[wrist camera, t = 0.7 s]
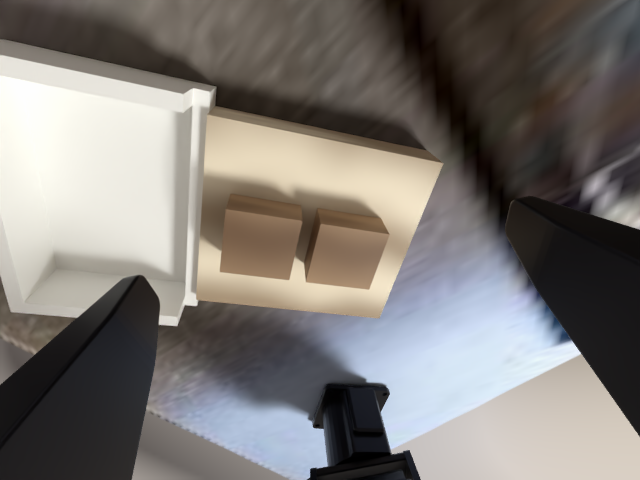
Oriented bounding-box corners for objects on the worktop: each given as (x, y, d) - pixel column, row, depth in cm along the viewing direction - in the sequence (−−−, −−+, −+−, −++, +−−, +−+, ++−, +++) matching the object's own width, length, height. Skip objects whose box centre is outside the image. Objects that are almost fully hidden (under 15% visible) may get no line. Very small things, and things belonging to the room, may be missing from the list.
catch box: (202, 287, 25) (190, 327, 22) (50, 271, 23) (10, 312, 20) (216, 86, 18) (202, 98, 15) (3, 39, 17) (-68, 40, 13)
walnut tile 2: (362, 270, 23) (369, 289, 21) (303, 263, 22) (305, 282, 20) (380, 218, 21) (389, 234, 19) (317, 207, 20) (320, 223, 18)
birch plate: (371, 296, 27) (379, 318, 25) (203, 277, 25) (196, 299, 23) (427, 150, 22) (443, 163, 19) (215, 105, 19) (207, 114, 17)
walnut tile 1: (288, 261, 22) (289, 280, 20) (224, 252, 21) (219, 272, 19) (300, 205, 20) (302, 221, 18) (230, 193, 19) (225, 209, 17)
